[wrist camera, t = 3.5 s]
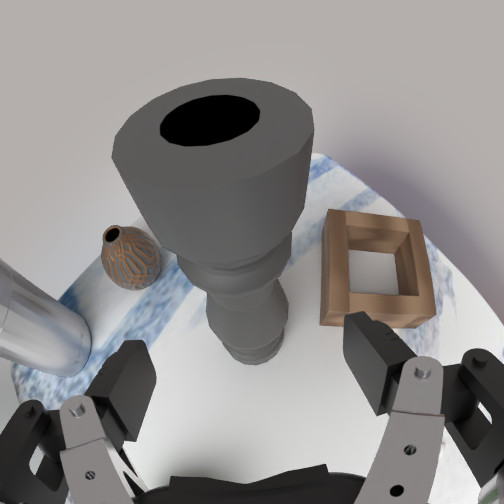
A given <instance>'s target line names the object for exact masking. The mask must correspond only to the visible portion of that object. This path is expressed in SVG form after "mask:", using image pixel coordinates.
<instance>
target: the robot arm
mask: <svg viewBox="0 0 504 504" xmlns="http://www.w3.org/2000/svg"><path fill="white" fill-rule="evenodd" d="M90 347H91V338H90V332H89V329H88V326H87V324H86V322H85V320H84V319H83V318H82V317H81V316H80V315H78V314H77V313H75V312H74V311H72V310H70V309H69V308H67V307H66V306H64V305H63V304H61V303H60V302H58V301H57V300H55V299H54V298H52V297H51V296H49V295H48V294H47V293H45V292H44V291H42V290H41V289H39V288H38V287H37V286H35V285H34V284H32V283H31V282H30V281H28V280H27V279H26V278H24V277H23V276H22V275H21V274H19V273H18V272H17V271H15V270H14V269H13V268H12V267H10V266H9V265H8V264H7V263H5V262H4V261H3V260H2V259H0V357H2V358H4V359H7V360H10V361H12V362H15V363H18V364H21V365H24V366H27V367H30V368H33V369H36V370H39V371H42V372H45V373H49V374H53V375H56V376H60V377H65V378H66V377H72V376H74V375H76V374H77V373H79V372H80V371H81V370H82V368H83V367H84V366H85V364H86V362H87V360H88V357H89V354H90ZM343 353H344V357H345V360H346V362H347V364H348V366H349V368H350V369H351V371H352V373H353V375H354V376H355V378H356V380H357V382H358V384H359V385H360V387H361V389H362V391H363V392H364V394H365V396H366V398H367V400H368V401H369V403H370V405H371V407H372V409H373V411H374V412H375V414H376V416H379V415H382V414H385V413H388V415H389V417H390V418H389V421H388V424H387V427H386V430H385V433H384V436H383V438H382V441H381V444H380V446H379V449H378V452H377V454H376V457H375V459H374V462H373V464H372V466H371V469H370V471H369V473H368V476H367V478H366V477H363V476H359V475H355V474H349V473H339V472H328V469H327V466H326V464H322V465H318V466H313V467H308V468H303V469H298V470H292V471H287V472H284V473H281V474H278V475H275V476H272V477H269V478H266V479H263V480H260V481H256V482H253V483H249V484H242V483H235V482H229V481H223V480H217V479H212V478H207V477H178V476H171V477H170V483H169V485H168V486H162V487H158V488H155V489H152V490H149V489H148V488H147V486H146V485H145V484H144V482H143V480H142V479H141V477H140V475H139V474H138V472H137V470H136V468H135V467H134V465H133V463H132V461H131V459H130V458H129V456H128V454H127V452H126V450H125V448H124V447H123V443H124V441H132V442H136V441H137V437H138V434H139V431H140V428H141V425H142V422H143V419H144V416H145V413H146V411H147V408H148V405H149V402H150V399H151V396H152V393H153V390H154V388H155V385H156V372H155V369H154V366H153V363H152V361H151V358H150V355H149V353H148V350H147V347H146V344H145V342H144V341H143V340H126V341H124V342H123V344H122V345H121V347H120V348H119V350H118V351H117V352H115V353H114V354H112V355H111V356H110V357H109V358H107V359H106V361H105V362H104V364H103V365H102V368H101V369H100V370H99V372H98V375H96V376H95V378H94V379H93V381H92V383H91V384H90V386H89V387H88V389H87V391H86V392H85V394H84V395H78V396H74V397H71V398H69V399H68V400H66V401H65V402H64V403H63V404H62V406H61V408H60V410H50V411H47V410H46V409H45V408H44V406H43V404H42V403H41V402H40V401H38V400H29V401H26V402H24V403H22V404H21V405H20V406H19V407H18V409H17V410H16V412H15V413H14V415H13V416H12V417H11V419H10V420H9V422H8V423H7V425H6V427H5V428H4V430H3V431H2V433H1V435H0V504H65V501H66V497H67V494H68V491H69V490H70V493H71V497H72V499H73V502H74V504H428V503H427V502H428V499H429V495H430V492H431V488H432V485H433V481H434V477H435V473H436V468H437V464H438V459H439V454H440V448H441V442H442V436H443V429H444V426H445V427H446V429H447V431H448V432H449V434H450V435H451V437H452V439H453V440H454V442H455V444H456V445H457V447H458V449H459V450H460V452H461V454H462V455H463V457H464V459H465V461H466V462H467V464H468V466H469V467H470V469H471V471H472V473H473V475H474V476H475V478H476V480H477V482H478V484H479V486H480V488H481V491H480V493H479V497H478V504H504V364H503V363H502V362H501V361H500V360H498V359H497V358H496V357H495V356H494V355H493V354H492V353H491V352H489V351H487V350H484V349H479V348H476V349H471V350H468V351H467V352H465V354H464V355H463V358H462V361H461V363H460V364H455V365H448V366H442V365H441V364H440V363H439V362H438V361H437V360H435V359H433V358H431V357H426V356H419V357H418V356H417V355H416V354H415V353H414V352H413V351H412V350H411V349H410V348H409V347H408V346H407V345H406V344H405V342H404V341H403V340H402V339H400V338H399V336H398V335H397V334H396V333H394V331H393V330H392V329H391V328H390V327H389V326H388V325H387V324H385V323H383V322H381V321H379V320H374V321H373V320H372V319H371V318H370V317H369V316H368V315H367V314H366V312H364V311H360V312H355V313H351V314H346V315H345V317H344V335H343ZM480 402H481V403H482V405H483V406H484V407H485V408H486V410H487V411H488V412H489V413H490V415H491V418H492V425H491V423H490V422H489V421H488V419H487V418H486V417H485V415H484V414H483V413H482V411H481V410H480V409H479V408H478V405H479V403H480ZM37 446H38V447H39V448H40V449H41V450H42V451H43V452H44V453H45V455H44V457H43V459H42V461H41V464H40V466H39V468H38V471H37V473H36V475H34V474H33V473H32V472H31V470H30V467H29V462H30V459H31V457H32V455H33V453H34V451H35V449H36V447H37Z"/></svg>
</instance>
